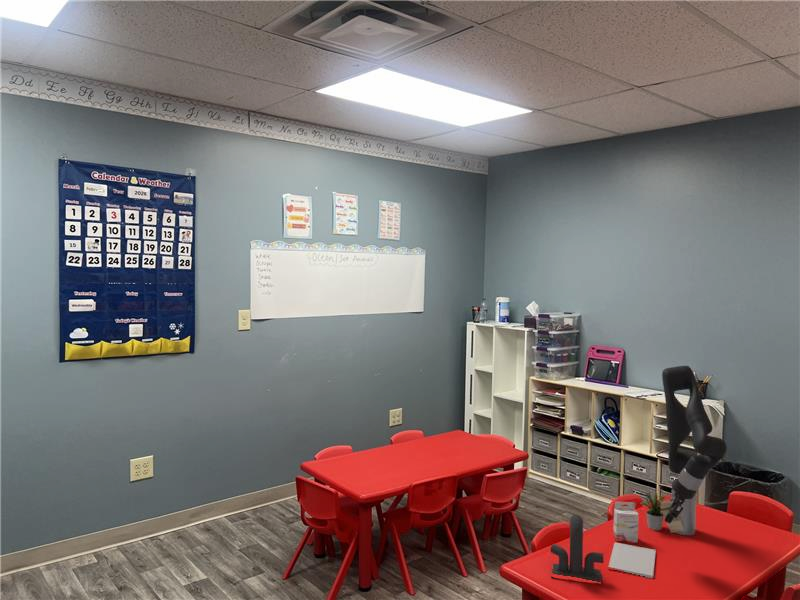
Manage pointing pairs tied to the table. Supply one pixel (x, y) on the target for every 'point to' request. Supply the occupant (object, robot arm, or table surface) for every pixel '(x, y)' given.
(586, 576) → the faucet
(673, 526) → the wooden block
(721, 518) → the table surface
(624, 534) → the ink cartridge box
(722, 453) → the robot arm
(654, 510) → the house plant
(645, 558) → the grey board
